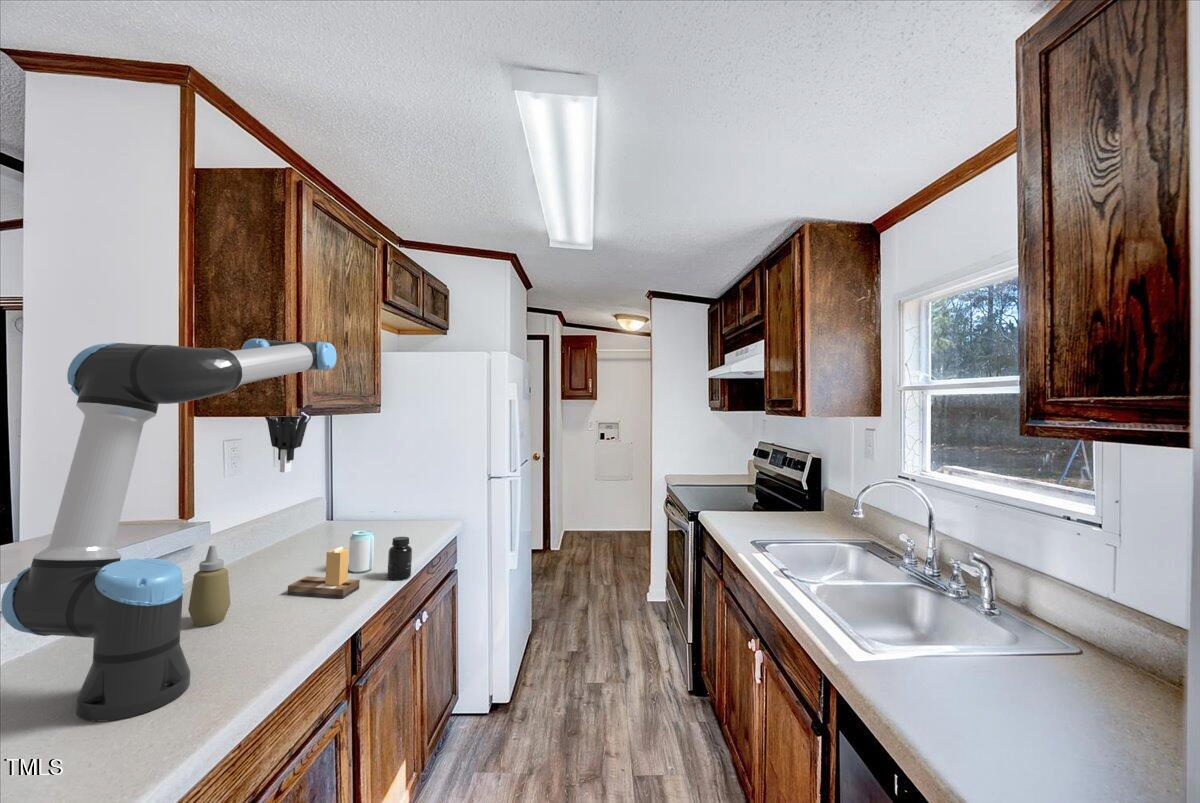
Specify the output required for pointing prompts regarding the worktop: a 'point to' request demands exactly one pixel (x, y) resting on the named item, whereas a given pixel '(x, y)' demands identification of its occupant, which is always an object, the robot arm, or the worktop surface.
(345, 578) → the fader tab
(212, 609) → the squeeze bottle
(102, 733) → the worktop surface
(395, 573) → the supplement bottle
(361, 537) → the can
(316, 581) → the console
